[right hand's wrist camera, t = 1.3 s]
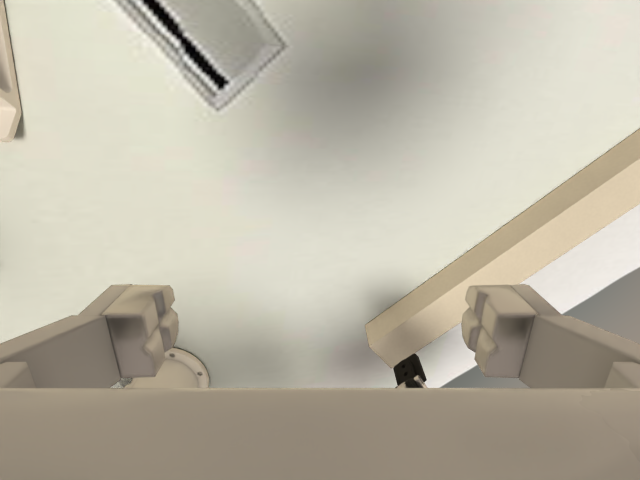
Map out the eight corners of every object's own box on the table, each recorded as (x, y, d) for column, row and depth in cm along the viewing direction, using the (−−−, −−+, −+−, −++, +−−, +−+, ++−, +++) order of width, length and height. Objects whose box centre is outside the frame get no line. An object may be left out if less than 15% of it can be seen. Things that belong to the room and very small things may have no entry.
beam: (677, 101, 46) (721, 102, 41) (694, 134, 48) (737, 139, 43) (364, 325, 59) (368, 346, 54) (385, 345, 60) (391, 368, 55)
